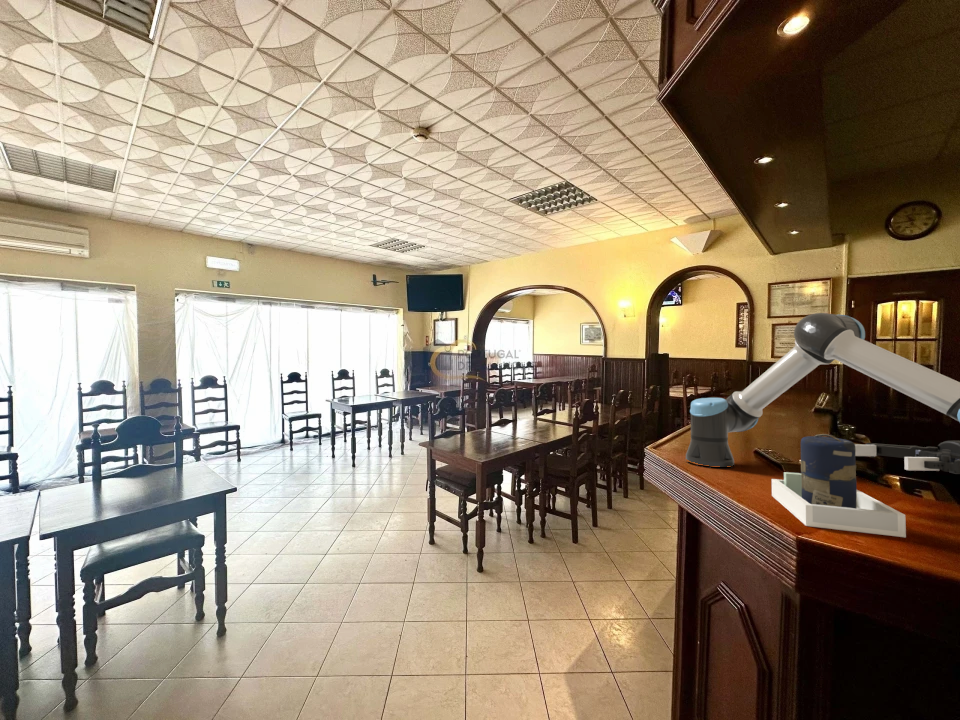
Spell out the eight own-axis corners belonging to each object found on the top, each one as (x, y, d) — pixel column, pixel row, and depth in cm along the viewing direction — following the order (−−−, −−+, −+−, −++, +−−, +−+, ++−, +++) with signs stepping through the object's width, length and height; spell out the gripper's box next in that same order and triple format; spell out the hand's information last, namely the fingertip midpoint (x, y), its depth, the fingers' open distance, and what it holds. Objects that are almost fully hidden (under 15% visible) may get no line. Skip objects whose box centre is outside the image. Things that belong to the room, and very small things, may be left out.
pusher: (784, 495, 102) (783, 472, 102) (846, 501, 98) (846, 476, 98) (786, 497, 101) (786, 473, 101) (849, 503, 96) (849, 478, 96)
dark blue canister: (834, 506, 94) (832, 431, 95) (869, 521, 85) (867, 438, 86) (791, 505, 95) (790, 430, 96) (822, 520, 86) (820, 437, 86)
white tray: (771, 495, 106) (771, 478, 106) (849, 503, 100) (848, 485, 100) (806, 525, 85) (805, 504, 85) (905, 537, 79) (905, 514, 80)
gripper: (1045, 490, 78) (936, 489, 79) (910, 460, 103) (828, 459, 104) (1044, 452, 79) (936, 451, 79) (910, 432, 104) (828, 431, 104)
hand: (874, 456), depth 91 cm, fingers open, 13 cm apart
